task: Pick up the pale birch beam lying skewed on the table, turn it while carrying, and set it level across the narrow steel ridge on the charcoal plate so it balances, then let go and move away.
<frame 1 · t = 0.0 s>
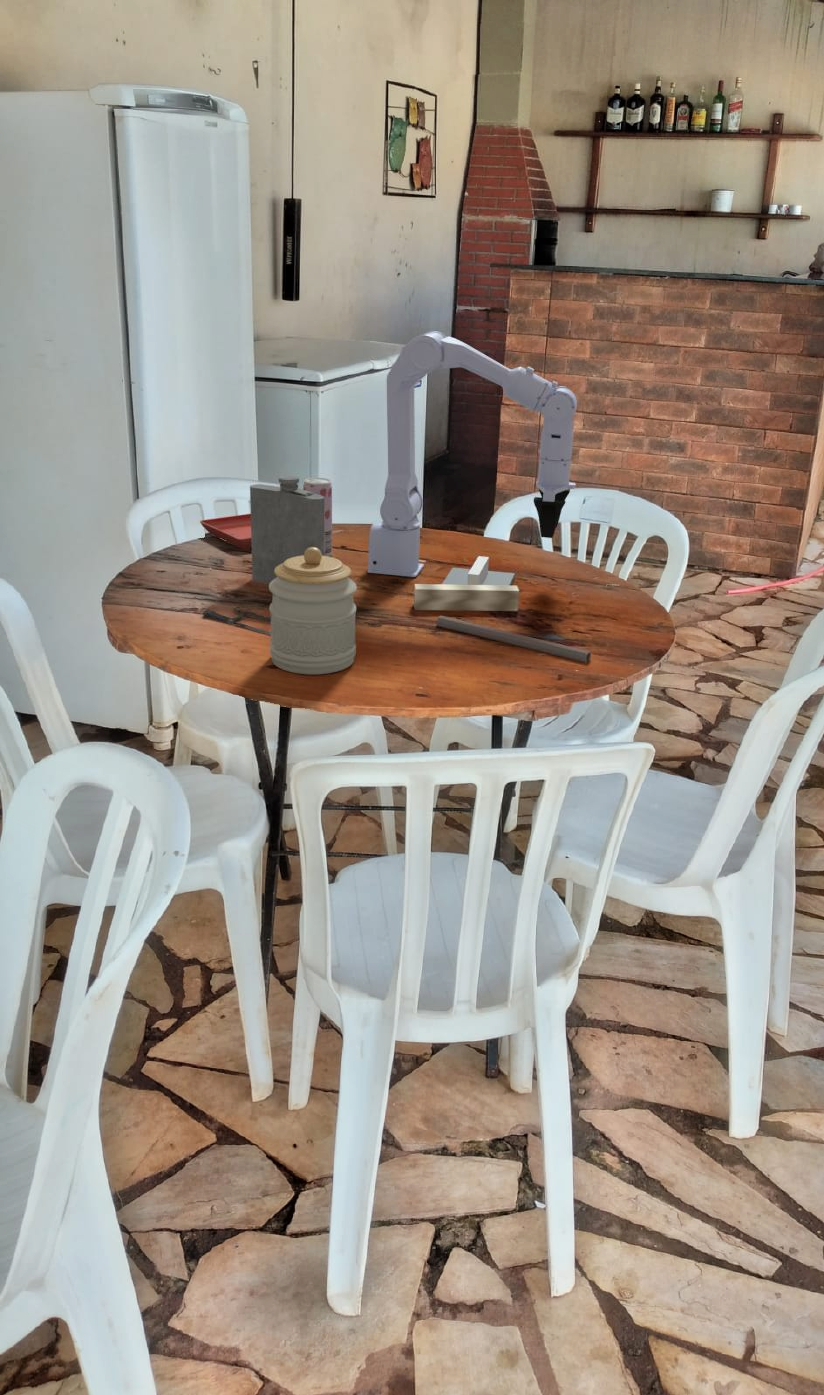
hand: (549, 532, 201), 10 cm above the table, fingers open, 7 cm apart
birch beam: (465, 609, 192), on the table
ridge: (477, 586, 203), on the table
metal rod: (510, 645, 176), on the table
beverage can: (317, 556, 218), on the table
hip flask: (289, 587, 199), on the table
plant saucer: (257, 539, 230), on the table
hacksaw: (274, 626, 181), on the table
jar: (313, 661, 166), on the table
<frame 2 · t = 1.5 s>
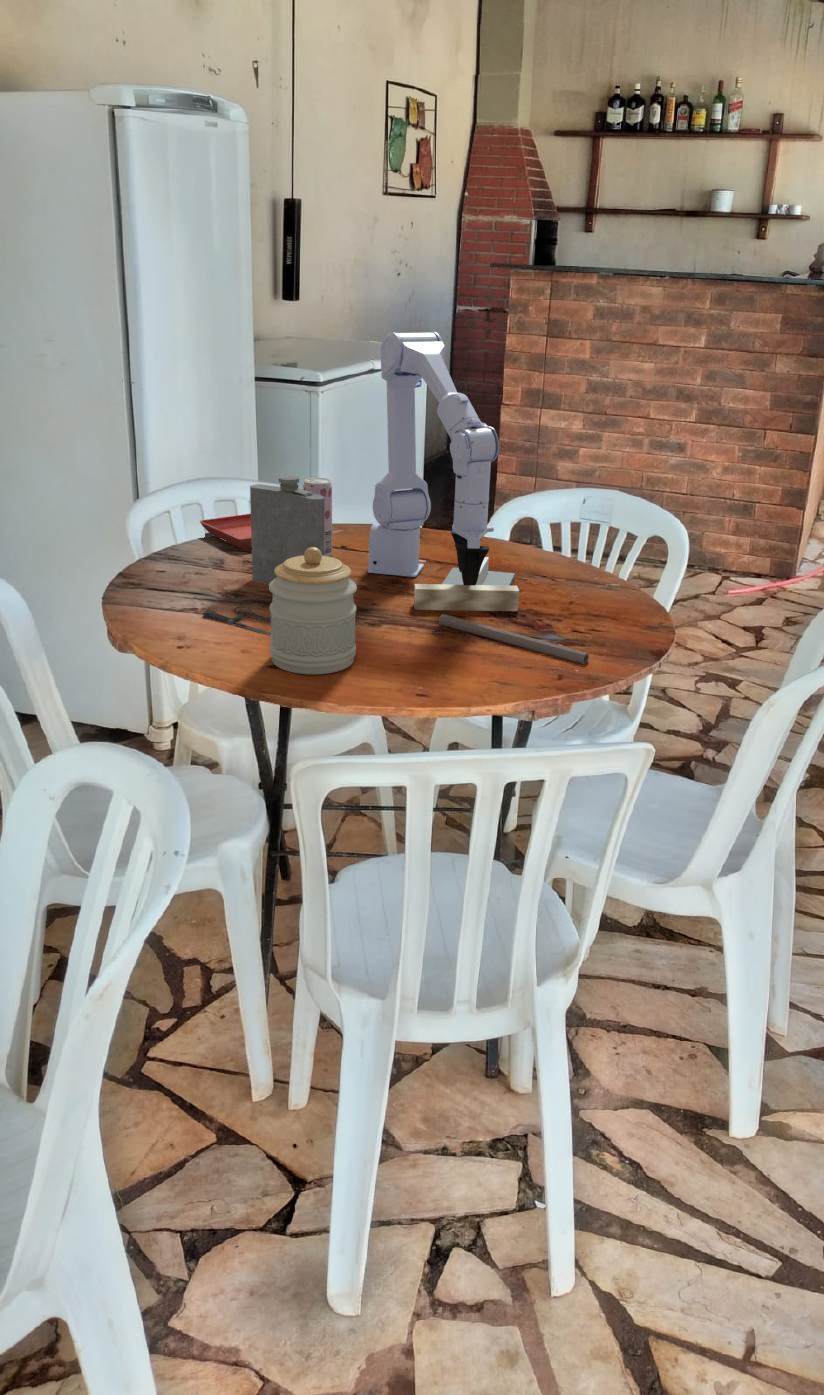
hand: (467, 578, 189), 5 cm above the table, fingers open, 7 cm apart
nothing on the table moved.
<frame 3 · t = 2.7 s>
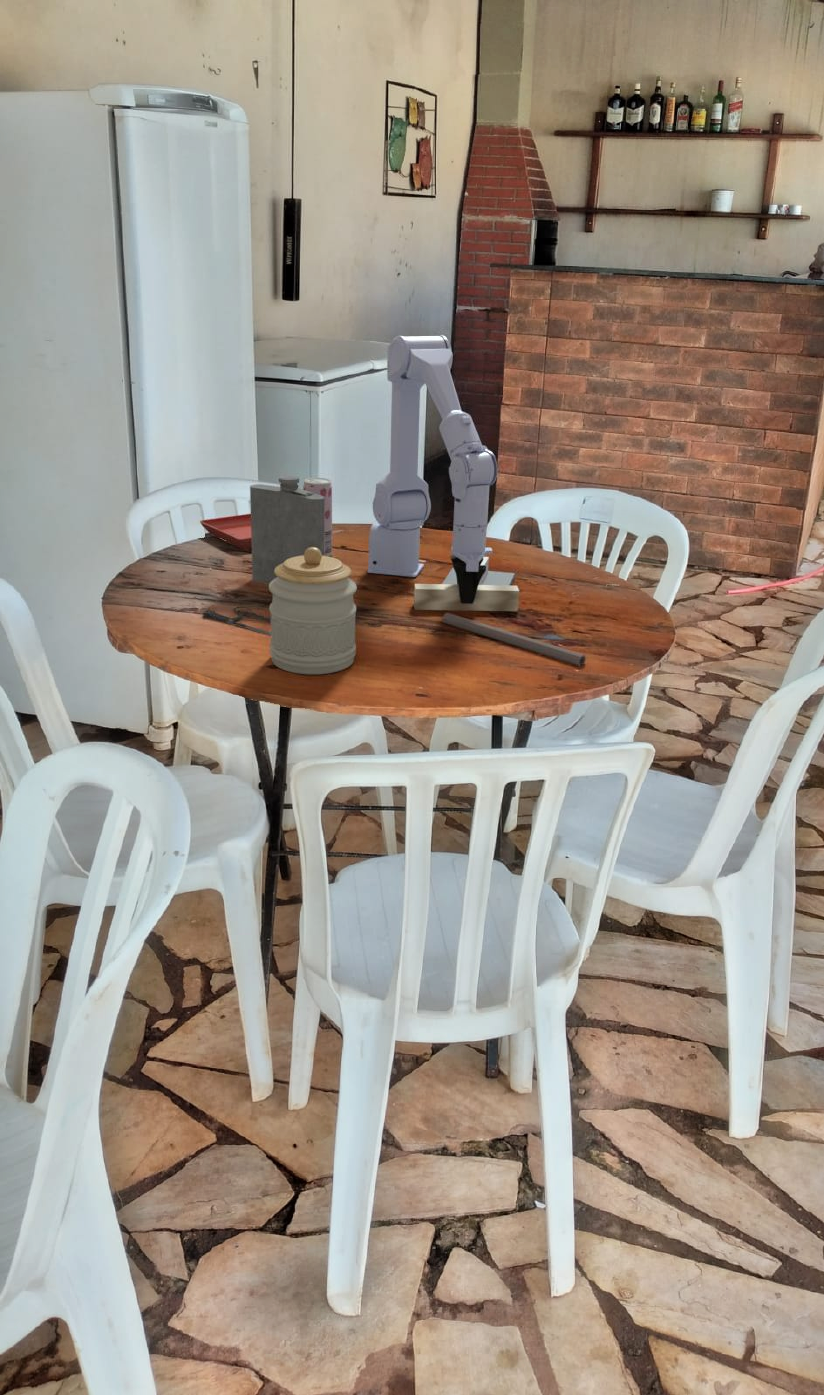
hand: (466, 599, 191), 1 cm above the table, fingers closed on birch beam, 3 cm apart
birch beam: (465, 609, 192), on the table, touching gripper
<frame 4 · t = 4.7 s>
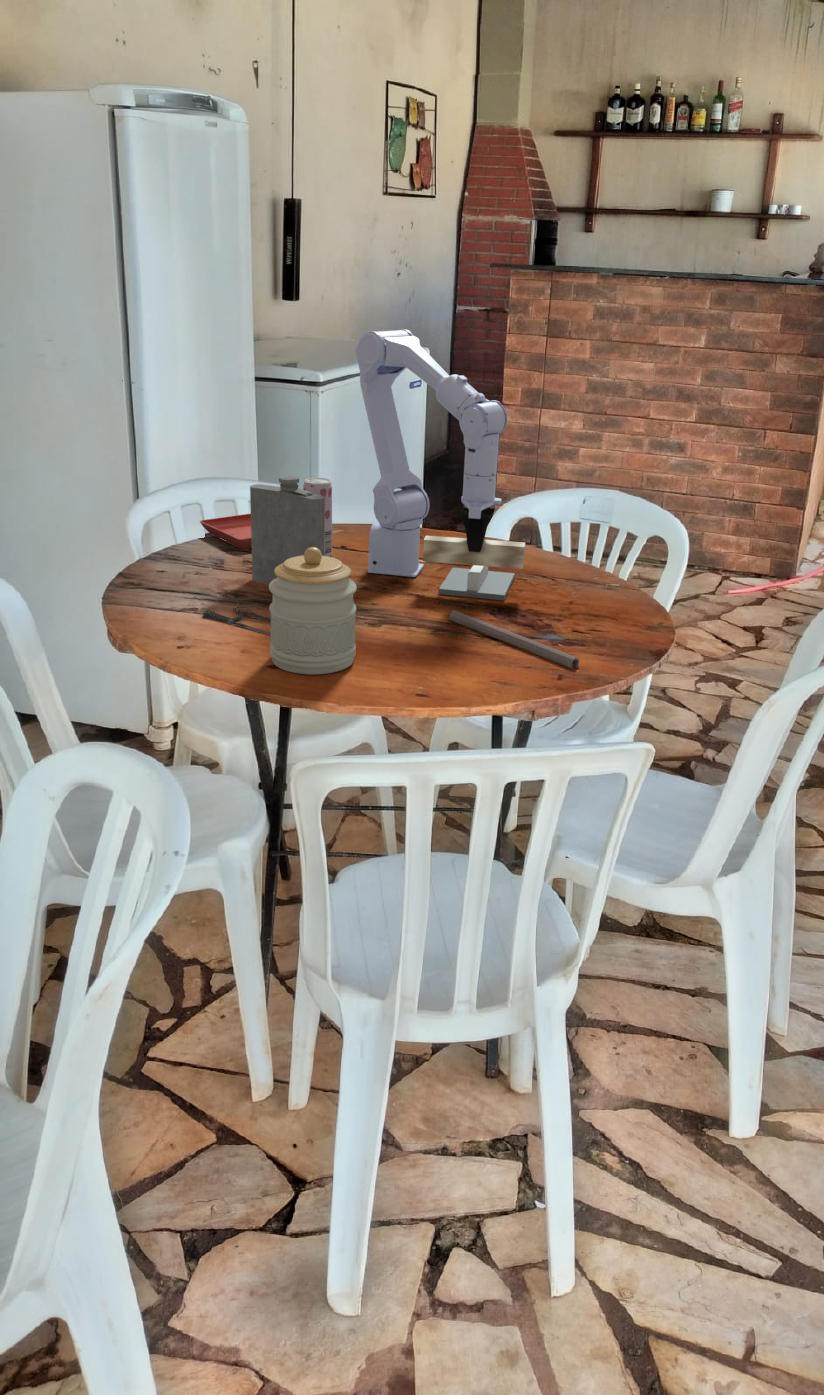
hand: (475, 548, 196), 8 cm above the table, fingers closed on birch beam, 3 cm apart
birch beam: (473, 562, 197), point 6 cm above the table, touching gripper
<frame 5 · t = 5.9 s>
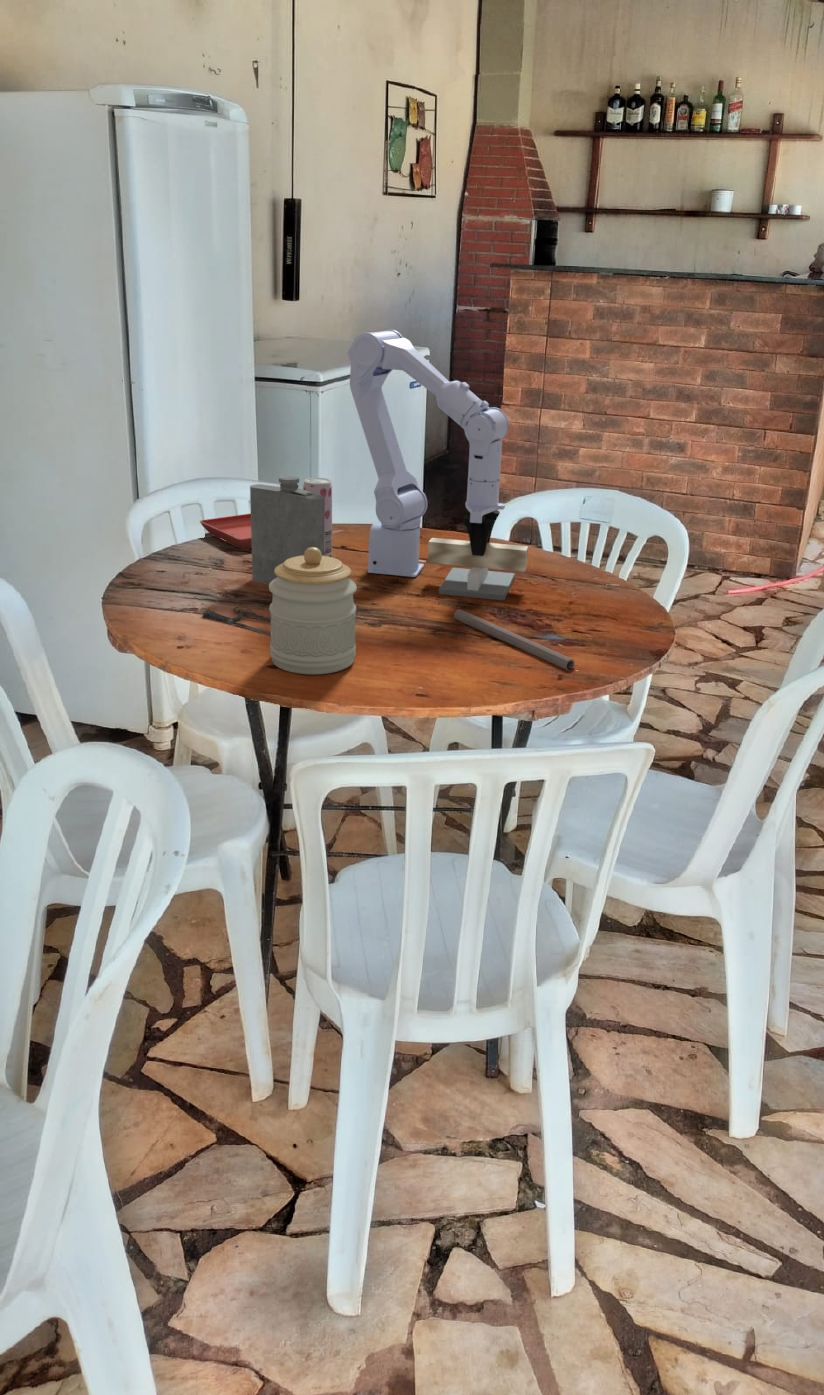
hand: (479, 552, 201), 6 cm above the table, fingers closed on birch beam, 3 cm apart
birch beam: (477, 565, 202), point 4 cm above the table, touching gripper, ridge
when the fingers open (6 cm above the table, at t = 6.2 s): birch beam stays where it is, resting on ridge.
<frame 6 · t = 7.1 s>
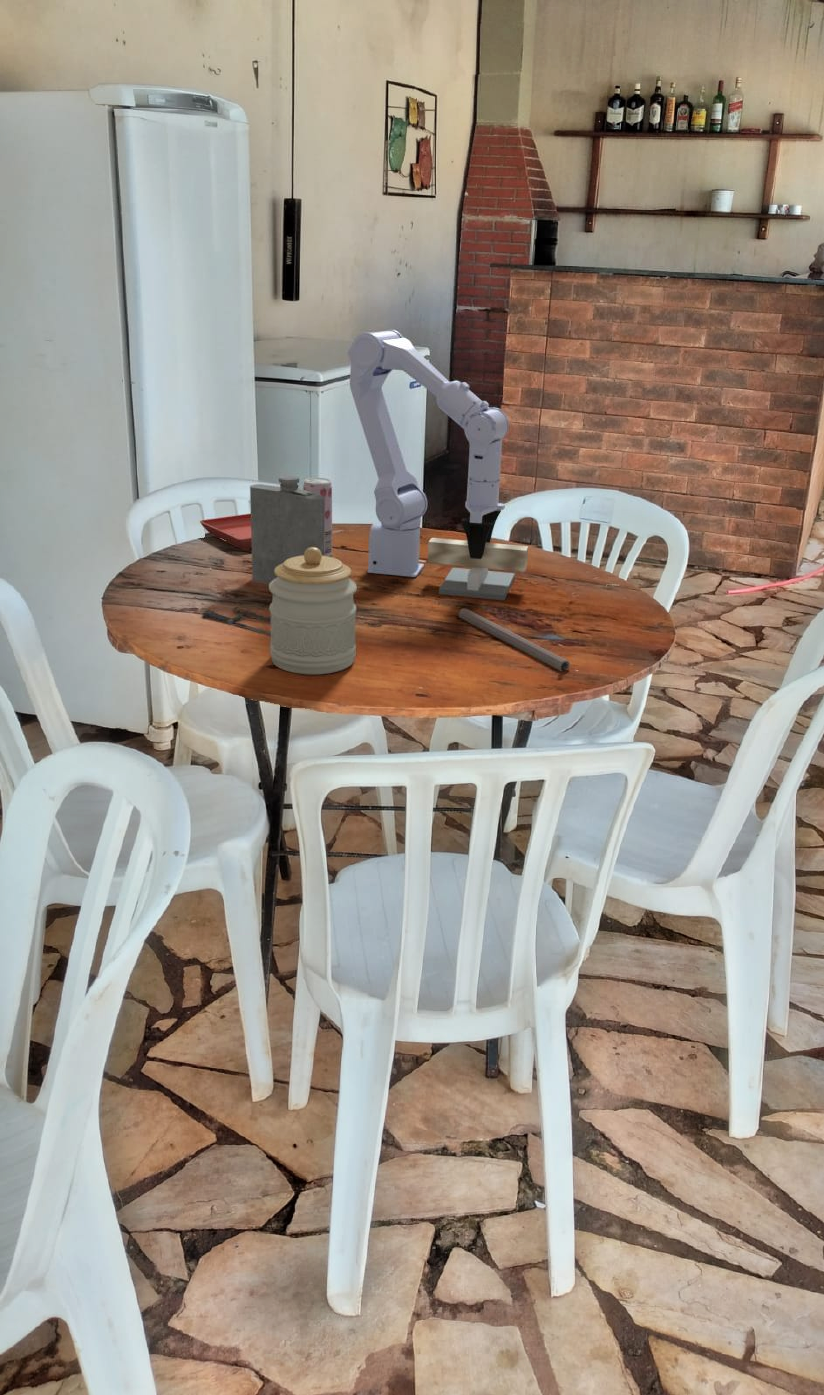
hand: (479, 552, 201), 6 cm above the table, fingers open, 7 cm apart
birch beam: (477, 565, 202), point 4 cm above the table, touching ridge
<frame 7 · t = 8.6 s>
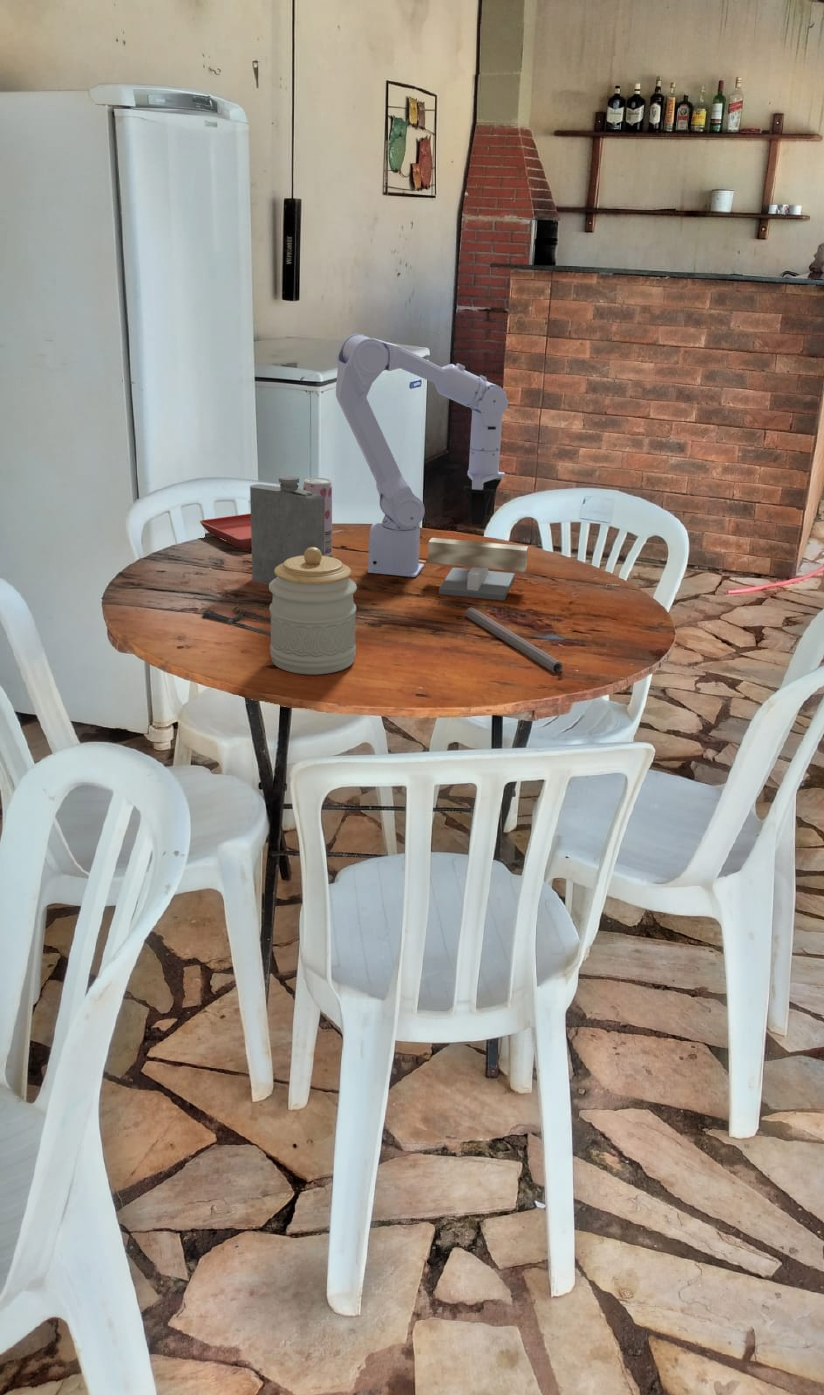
hand: (480, 519, 211), 9 cm above the table, fingers open, 7 cm apart
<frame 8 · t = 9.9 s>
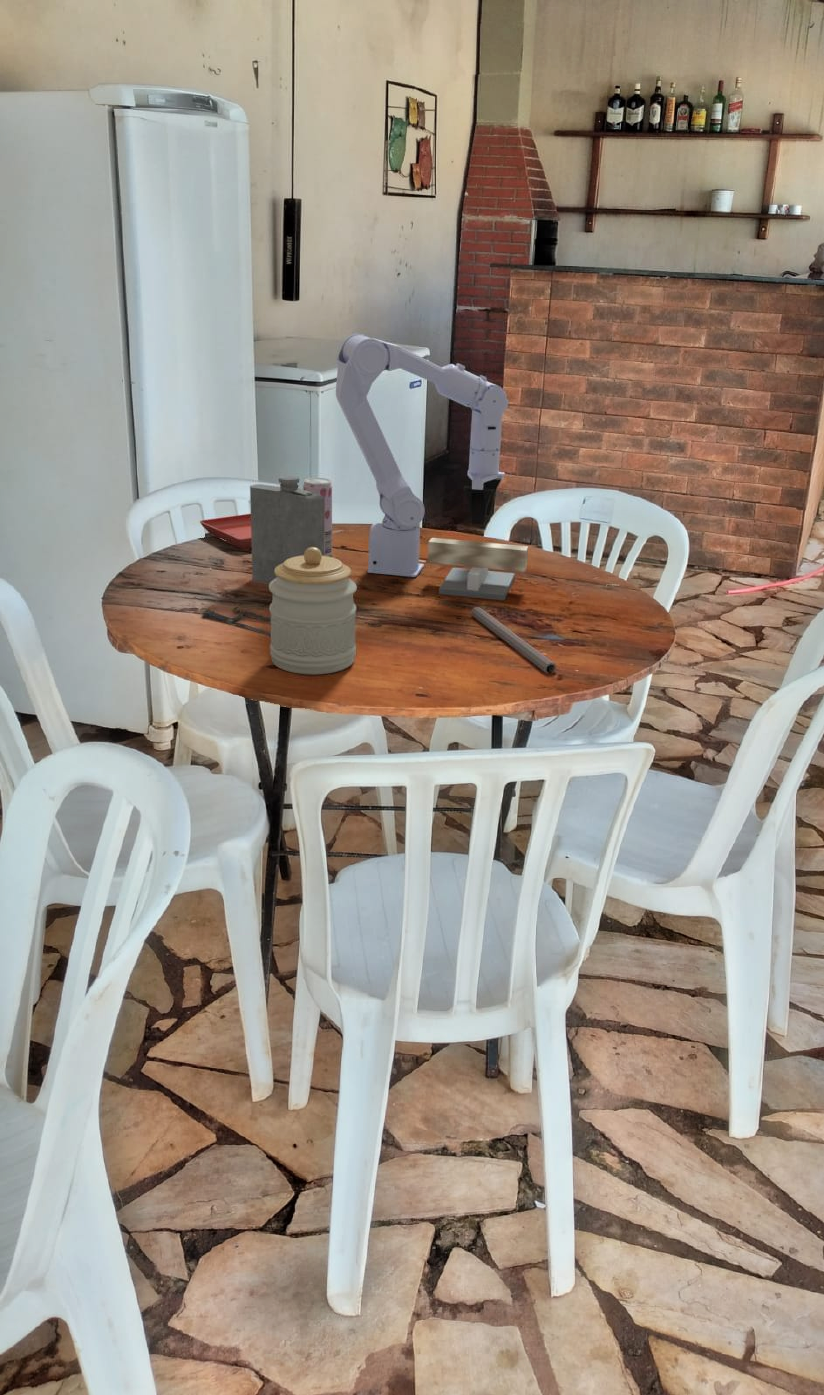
hand: (480, 519, 211), 9 cm above the table, fingers open, 7 cm apart
at the end: birch beam 0.3 cm off-centre on the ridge, point 4.0 cm above the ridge's base; birch beam tilted 0°; the gripper is holding nothing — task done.
